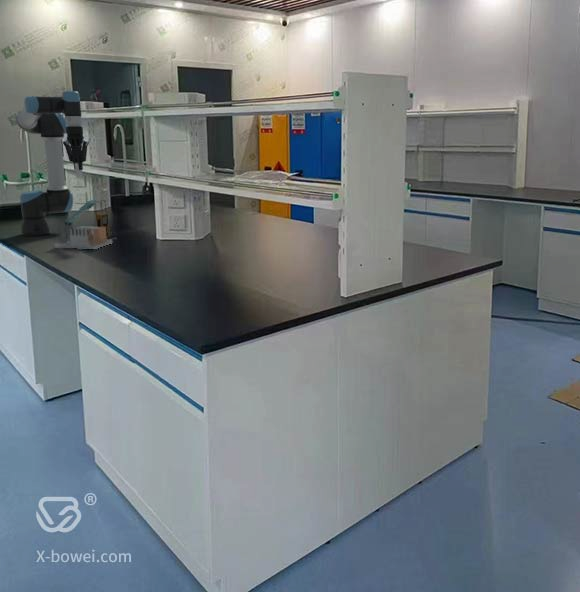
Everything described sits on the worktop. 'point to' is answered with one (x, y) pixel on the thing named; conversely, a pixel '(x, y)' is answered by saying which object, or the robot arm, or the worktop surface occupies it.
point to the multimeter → (103, 220)
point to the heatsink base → (83, 237)
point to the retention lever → (81, 211)
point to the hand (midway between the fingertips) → (79, 177)
